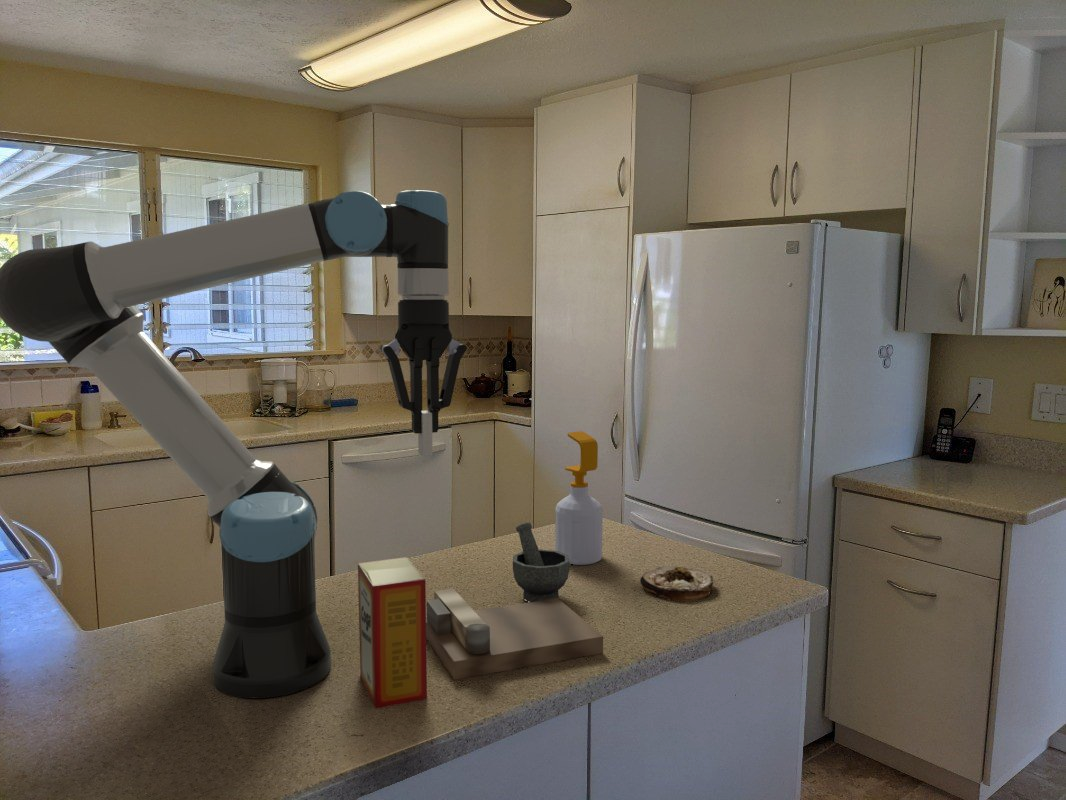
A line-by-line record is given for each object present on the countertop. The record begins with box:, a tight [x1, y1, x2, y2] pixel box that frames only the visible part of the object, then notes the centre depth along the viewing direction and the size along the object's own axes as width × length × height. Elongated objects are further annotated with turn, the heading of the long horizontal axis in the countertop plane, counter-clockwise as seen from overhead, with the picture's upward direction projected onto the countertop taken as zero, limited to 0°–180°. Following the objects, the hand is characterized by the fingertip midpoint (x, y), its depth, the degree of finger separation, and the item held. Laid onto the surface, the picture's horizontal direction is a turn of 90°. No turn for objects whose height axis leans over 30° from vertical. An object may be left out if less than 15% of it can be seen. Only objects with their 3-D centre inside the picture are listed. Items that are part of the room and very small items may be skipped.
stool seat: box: [426, 598, 604, 680], centre depth 121 cm, size 22×16×6 cm
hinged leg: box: [433, 588, 490, 654], centre depth 119 cm, size 18×3×3 cm, turn 23°
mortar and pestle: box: [512, 522, 570, 602], centre depth 139 cm, size 11×9×12 cm
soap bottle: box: [554, 430, 604, 566], centre depth 159 cm, size 9×9×25 cm
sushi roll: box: [639, 565, 714, 602], centre depth 144 cm, size 15×15×4 cm
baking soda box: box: [357, 556, 428, 709], centre depth 107 cm, size 10×6×16 cm
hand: (425, 453), depth 127 cm, fingers closed
